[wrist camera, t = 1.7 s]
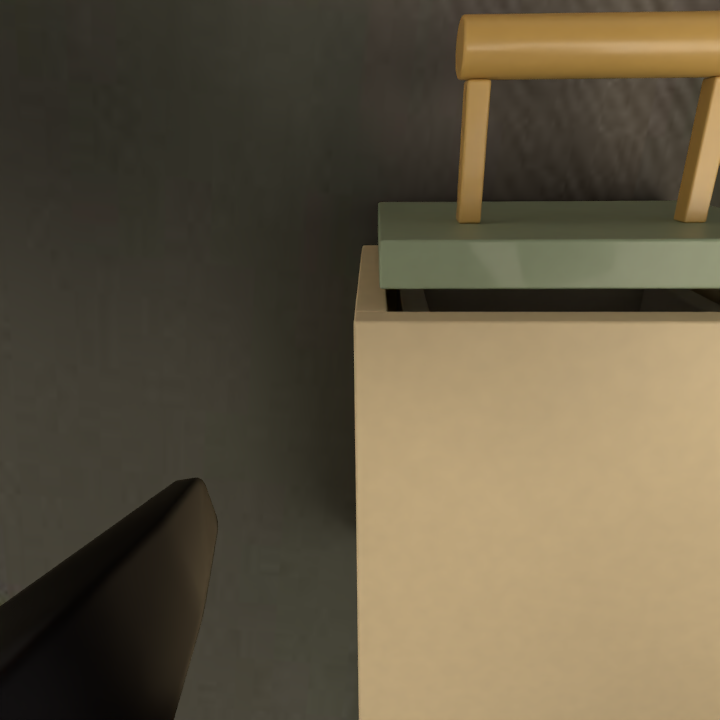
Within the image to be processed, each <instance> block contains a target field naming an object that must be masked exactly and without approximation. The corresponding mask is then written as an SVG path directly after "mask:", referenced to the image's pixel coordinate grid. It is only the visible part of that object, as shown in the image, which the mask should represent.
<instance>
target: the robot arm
mask: <svg viewBox="0 0 720 720" xmlns="http://www.w3.org/2000/svg"><path fill="white" fill-rule="evenodd" d="M217 532H218V521H217V516H216V513H215V510H214V508H213V505H212V502H211V499H210V496H209V494H208V491H207V488H206V485H205V483H204V482H203V480H201V479H200V478H190V479H183V480H178V481H175V482H174V483H172V484H171V485H169V486H168V487H167V488H165V489H164V490H162V491H161V492H160V493H158V494H157V495H155V496H154V497H153V498H151V499H150V500H148V501H147V502H146V503H144V504H143V505H141V506H140V507H139V508H137V509H136V510H134V511H133V512H132V513H130V514H129V515H127V516H126V517H125V518H123V519H122V520H120V521H119V522H118V523H116V524H115V525H113V526H112V527H111V528H109V529H108V530H106V531H105V532H104V533H102V534H101V535H99V536H98V537H97V538H95V539H94V540H92V541H91V542H90V543H88V544H87V545H85V546H84V547H83V548H81V549H80V550H78V551H77V552H76V553H74V554H73V555H71V556H70V557H69V558H67V559H66V560H64V561H63V562H62V563H60V564H59V565H57V566H56V567H55V568H53V569H52V570H50V571H49V572H48V573H46V574H45V575H43V576H42V577H41V578H39V579H38V580H36V581H35V582H34V583H32V584H31V585H29V586H28V587H27V588H25V589H24V590H22V591H21V592H20V593H18V594H17V595H15V596H14V597H13V598H11V599H10V600H8V601H7V602H6V603H4V604H3V605H1V606H0V720H174V717H175V713H176V710H177V706H178V703H179V699H180V696H181V692H182V689H183V685H184V682H185V678H186V675H187V671H188V668H189V664H190V661H191V657H192V653H193V650H194V646H195V643H196V639H197V636H198V632H199V629H200V625H201V621H202V617H203V613H204V608H205V603H206V597H207V592H208V586H209V580H210V574H211V568H212V562H213V556H214V550H215V544H216V538H217Z"/></svg>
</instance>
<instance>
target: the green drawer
mask: <svg viewBox="0 0 720 720" xmlns="http://www.w3.org/2000/svg"><path fill="white" fill-rule="evenodd" d="M456 75H457V78H458V79H459V80H467V81H465V83H464V93H463V110H462V126H461V143H460V160H459V177H458V194H457V202H379V203H378V254H379V286H380V288H381V289H397V291H396V312H720V305H719V304H717V303H715V302H713V301H711V300H709V299H707V298H705V297H703V296H701V295H699V294H697V293H695V292H693V291H691V290H689V289H720V208H718V207H713V206H710V202H711V197H712V193H713V189H714V185H715V180H716V176H717V172H718V168H719V163H720V11H669V12H600V13H530V14H465V15H463V16H462V17H461V20H460V23H459V27H458V34H457V43H456ZM698 77H710V78H705V79H703V82H702V87H701V92H700V96H699V101H698V106H697V111H696V115H695V120H694V125H693V129H692V134H691V139H690V144H689V148H688V153H687V158H686V163H685V167H684V172H683V177H682V181H681V186H680V191H679V196H678V200H677V201H506V202H482V195H483V182H484V169H485V156H486V143H487V130H488V117H489V104H490V91H491V80H518V79H608V78H698Z"/></svg>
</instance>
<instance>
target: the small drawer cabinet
mask: <svg viewBox="0 0 720 720" xmlns="http://www.w3.org/2000/svg"><path fill="white" fill-rule="evenodd" d="M689 290H691V291H693V292H695V293H697V294H699V295H701V296H703V297H705V298H707V299H709V300H711V301H713V302H715V303H717V304H719V305H720V289H689ZM396 291H397V289H381V288H380V286H379V254H378V245H364V246H363V247H362V252H361V261H360V270H359V279H358V288H357V297H356V306H355V316H354V388H355V463H356V538H357V614H358V689H359V720H720V312H396Z"/></svg>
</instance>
